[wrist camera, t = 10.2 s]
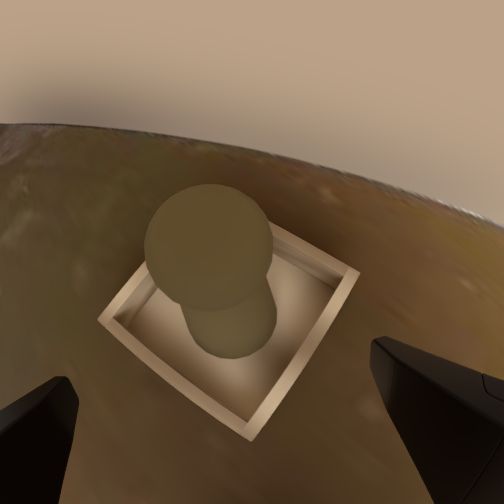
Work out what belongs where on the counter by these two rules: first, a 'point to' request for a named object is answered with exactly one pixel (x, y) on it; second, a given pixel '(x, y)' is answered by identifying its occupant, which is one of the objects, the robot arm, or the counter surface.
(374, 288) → the counter surface
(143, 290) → the birch tray
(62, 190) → the counter surface
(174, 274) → the olive pepper mill
